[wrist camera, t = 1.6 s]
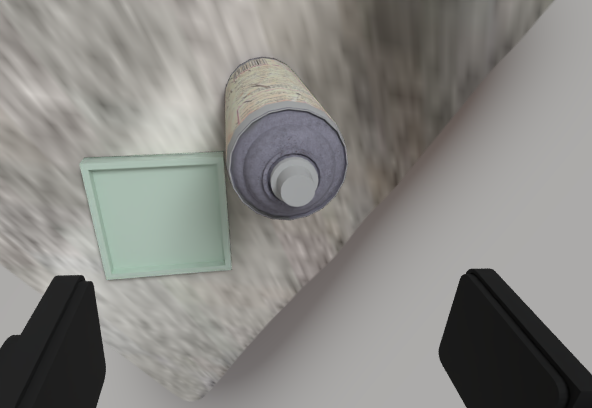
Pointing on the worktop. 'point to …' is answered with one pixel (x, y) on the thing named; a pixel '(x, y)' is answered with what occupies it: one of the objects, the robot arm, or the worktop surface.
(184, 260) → the tray
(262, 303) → the worktop surface
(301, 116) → the aerosol can
